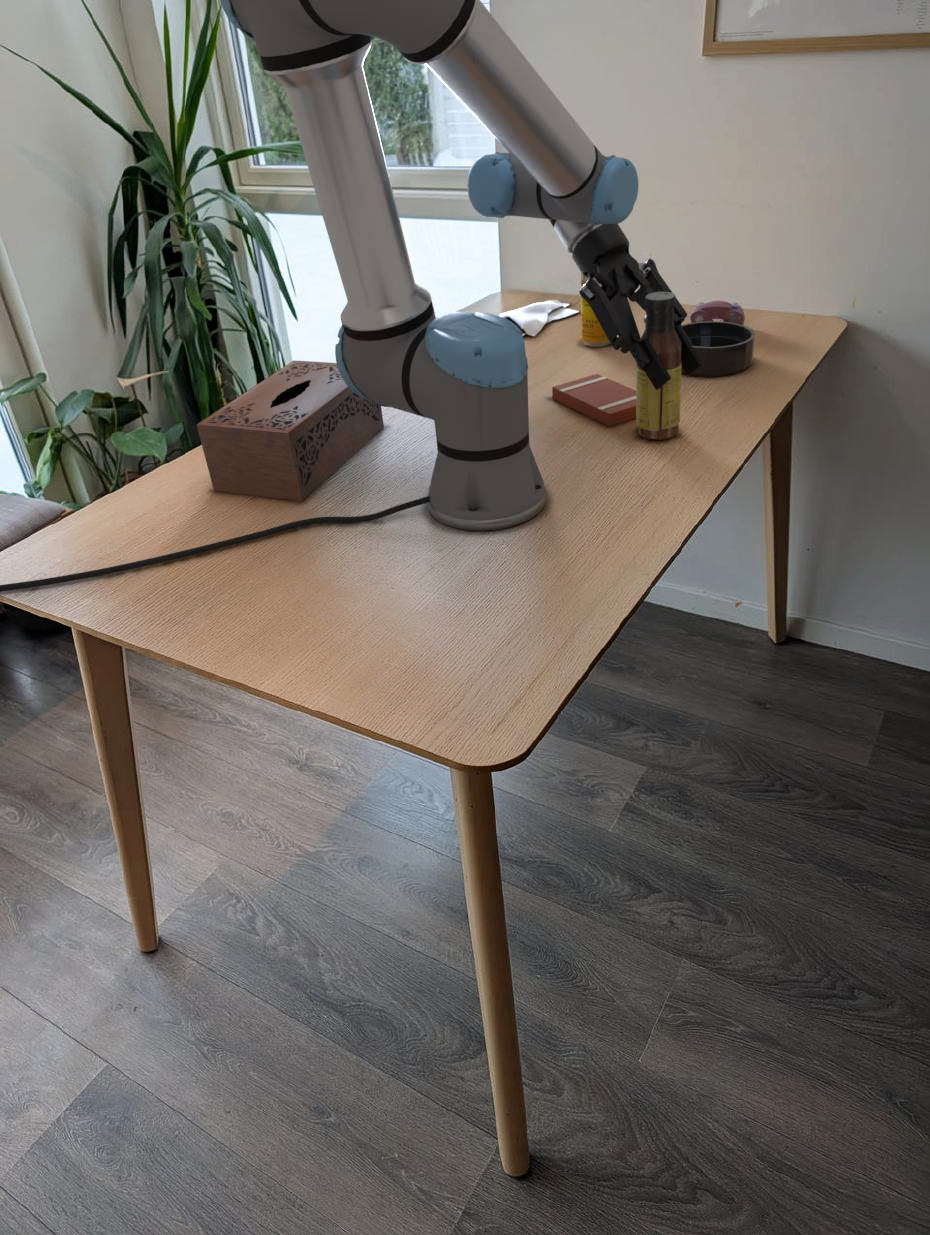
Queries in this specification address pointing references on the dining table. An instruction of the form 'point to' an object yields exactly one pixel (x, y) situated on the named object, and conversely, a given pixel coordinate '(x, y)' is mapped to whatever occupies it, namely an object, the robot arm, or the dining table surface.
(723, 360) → the pan
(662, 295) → the sauce bottle
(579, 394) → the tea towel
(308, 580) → the dining table surface
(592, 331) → the beer can
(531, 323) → the cloth
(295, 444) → the tissue box cover
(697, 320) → the video game controller
